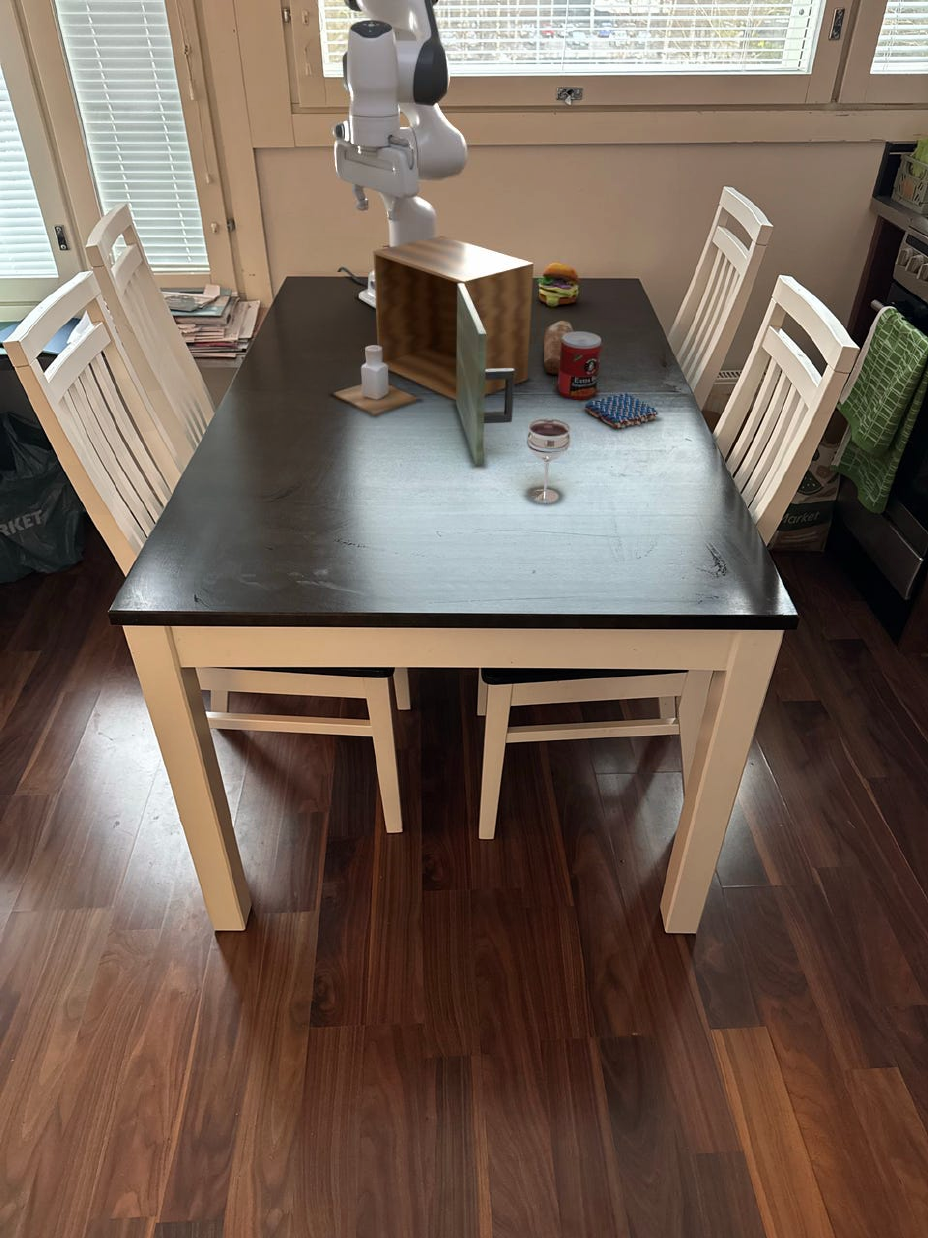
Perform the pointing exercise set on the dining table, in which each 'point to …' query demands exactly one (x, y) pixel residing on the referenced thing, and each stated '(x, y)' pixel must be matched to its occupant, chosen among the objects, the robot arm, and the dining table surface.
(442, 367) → the cupboard
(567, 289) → the cheeseburger
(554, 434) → the wineglass
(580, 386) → the canned food
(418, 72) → the robot arm
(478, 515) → the dining table surface
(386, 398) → the coaster
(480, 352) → the cupboard door
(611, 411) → the woven mat
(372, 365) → the pepper shaker
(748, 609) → the dining table surface
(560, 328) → the bread
